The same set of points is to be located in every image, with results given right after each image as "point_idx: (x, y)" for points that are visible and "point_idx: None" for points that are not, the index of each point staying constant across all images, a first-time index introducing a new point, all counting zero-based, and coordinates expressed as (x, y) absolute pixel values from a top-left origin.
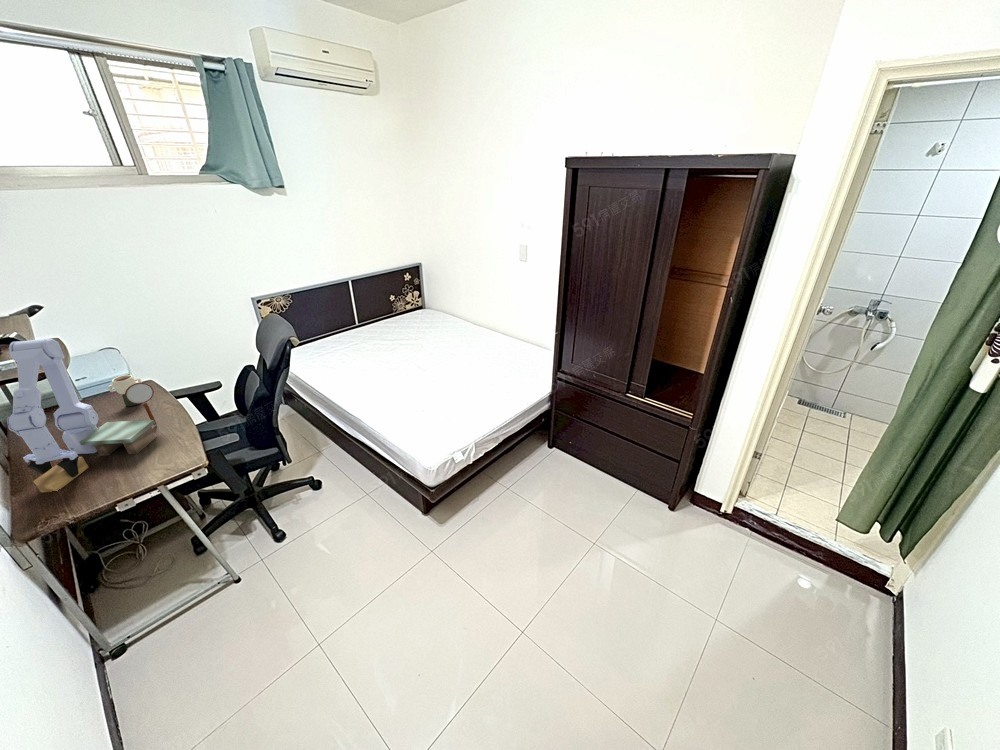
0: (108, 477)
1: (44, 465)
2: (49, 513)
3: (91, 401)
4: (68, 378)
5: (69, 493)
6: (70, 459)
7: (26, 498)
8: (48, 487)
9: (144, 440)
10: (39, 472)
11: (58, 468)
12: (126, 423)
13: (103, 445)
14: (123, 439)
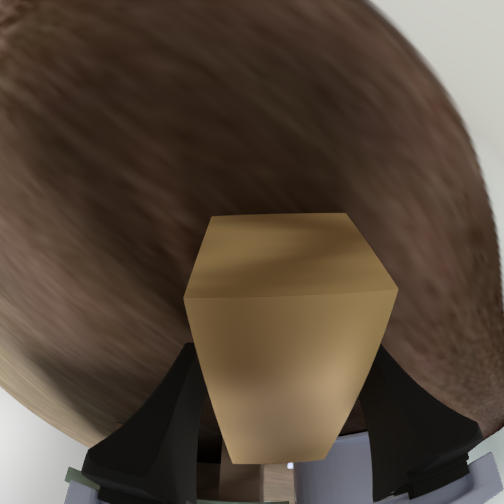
0: (48, 321)
1: (386, 440)
2: (50, 18)
3: None
4: None
5: (93, 197)
6: (87, 489)
7: (400, 148)
8: (259, 237)
9: None
10: (411, 380)
11: (286, 419)
12: None
13: (219, 482)
14: None
